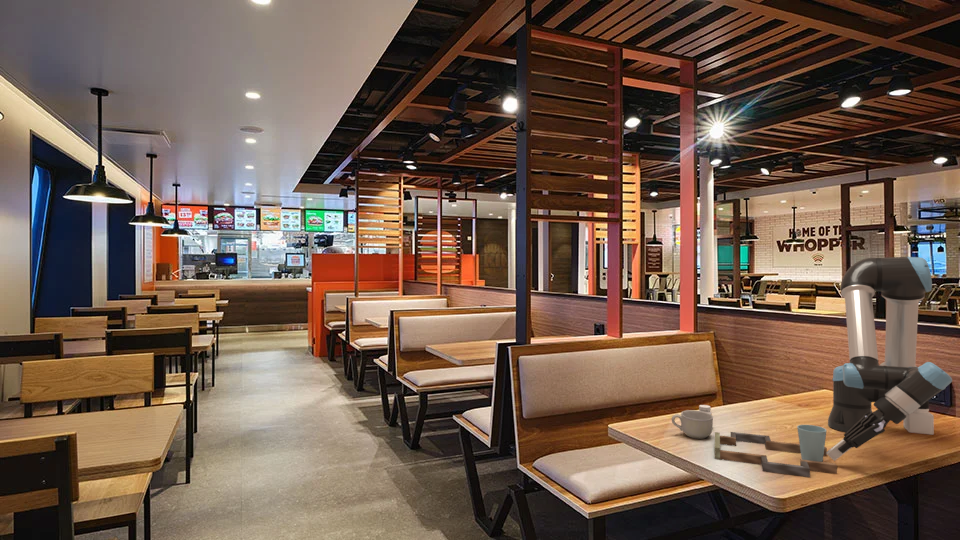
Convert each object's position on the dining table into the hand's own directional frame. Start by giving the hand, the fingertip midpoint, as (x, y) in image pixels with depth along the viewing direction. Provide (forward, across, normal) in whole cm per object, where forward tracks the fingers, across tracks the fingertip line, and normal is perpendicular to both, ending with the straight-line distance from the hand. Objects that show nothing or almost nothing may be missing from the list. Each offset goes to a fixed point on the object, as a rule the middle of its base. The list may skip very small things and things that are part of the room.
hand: (830, 456), depth 160 cm
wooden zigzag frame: (+13, +1, +10) cm, 16 cm away
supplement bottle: (+27, +25, +24) cm, 44 cm away
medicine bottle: (-22, +50, -28) cm, 62 cm away
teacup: (+29, +14, +27) cm, 42 cm away
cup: (+5, +1, +1) cm, 6 cm away
